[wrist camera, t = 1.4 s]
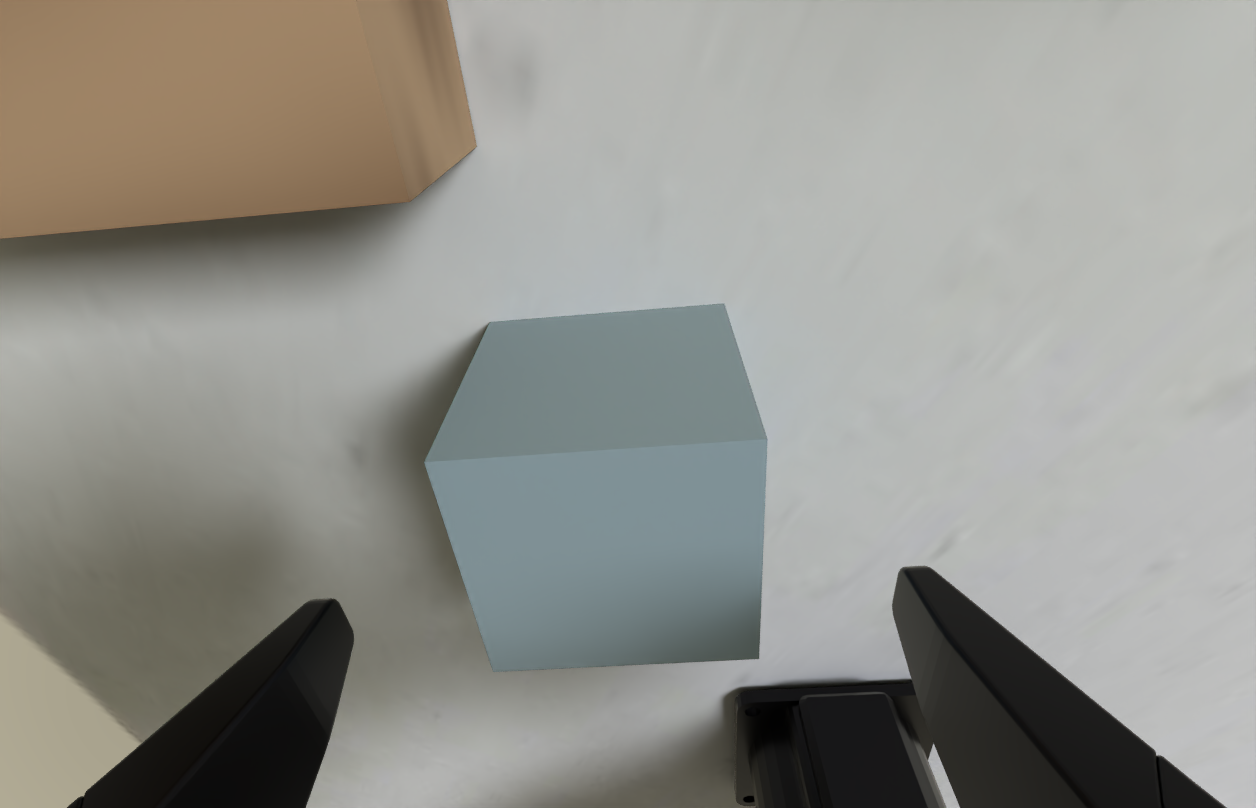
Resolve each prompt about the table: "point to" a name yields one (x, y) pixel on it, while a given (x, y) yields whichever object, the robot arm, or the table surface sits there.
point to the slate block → (607, 490)
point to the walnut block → (221, 109)
